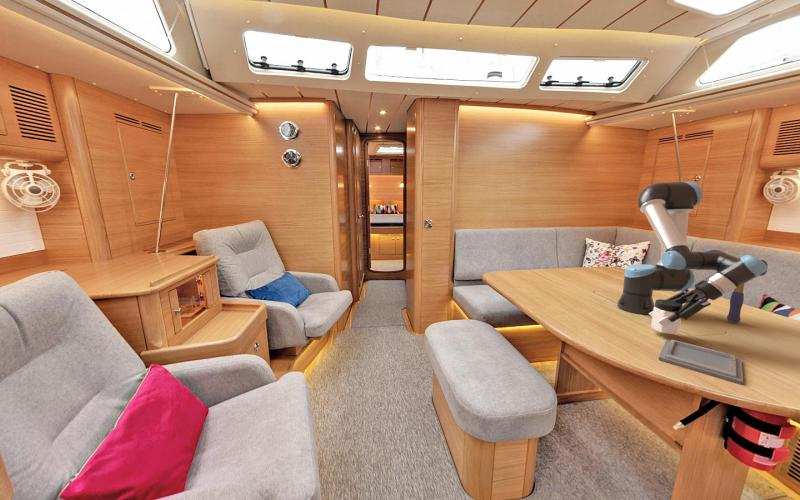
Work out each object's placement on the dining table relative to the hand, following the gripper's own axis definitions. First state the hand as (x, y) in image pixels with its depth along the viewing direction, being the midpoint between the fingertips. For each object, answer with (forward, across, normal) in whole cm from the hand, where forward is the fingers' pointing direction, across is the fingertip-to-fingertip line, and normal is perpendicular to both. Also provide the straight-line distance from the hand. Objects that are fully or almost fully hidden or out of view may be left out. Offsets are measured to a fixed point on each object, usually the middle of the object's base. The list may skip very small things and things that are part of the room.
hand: (655, 320), depth 117 cm
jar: (0, 0, -5) cm, 5 cm away
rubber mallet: (-22, +25, -31) cm, 46 cm away
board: (0, -20, -8) cm, 22 cm away
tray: (0, -20, -8) cm, 22 cm away
